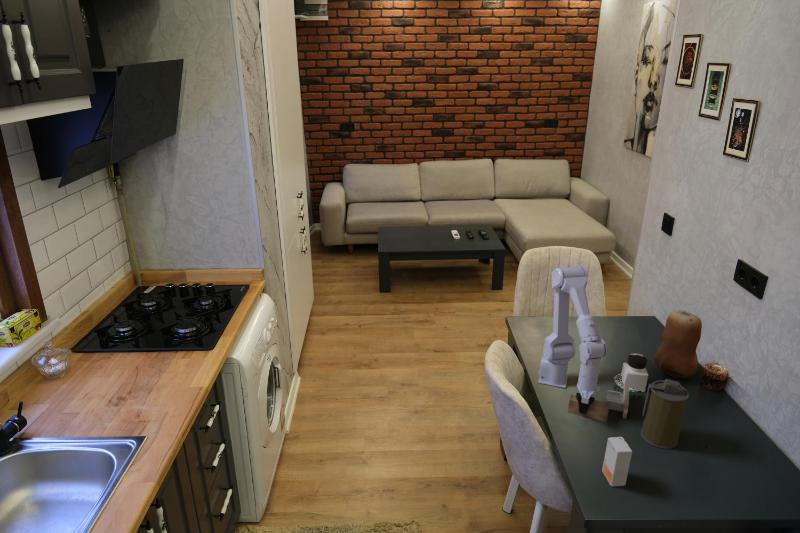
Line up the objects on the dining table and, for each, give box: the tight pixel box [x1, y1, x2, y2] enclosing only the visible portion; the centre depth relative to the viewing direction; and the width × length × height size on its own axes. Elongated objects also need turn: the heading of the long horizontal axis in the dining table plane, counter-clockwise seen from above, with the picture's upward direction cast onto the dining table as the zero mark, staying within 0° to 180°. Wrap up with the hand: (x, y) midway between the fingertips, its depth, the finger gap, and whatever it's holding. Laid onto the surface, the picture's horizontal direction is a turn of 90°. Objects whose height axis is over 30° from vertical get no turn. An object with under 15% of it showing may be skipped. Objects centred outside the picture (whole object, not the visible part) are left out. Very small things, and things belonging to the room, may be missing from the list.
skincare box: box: [601, 436, 633, 487], centre depth 147 cm, size 6×4×12 cm
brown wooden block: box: [567, 393, 610, 423], centre depth 174 cm, size 12×3×5 cm, turn 66°
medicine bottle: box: [620, 353, 649, 393], centre depth 188 cm, size 7×7×12 cm
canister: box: [640, 378, 690, 450], centre depth 161 cm, size 11×10×20 cm
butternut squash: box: [653, 309, 703, 380], centre depth 193 cm, size 14×13×25 cm
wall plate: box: [622, 380, 630, 420], centre depth 178 cm, size 1×14×6 cm, turn 158°
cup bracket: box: [605, 389, 624, 412], centre depth 180 cm, size 5×7×3 cm
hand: (583, 409), depth 175 cm, fingers closed on brown wooden block, 3 cm apart
